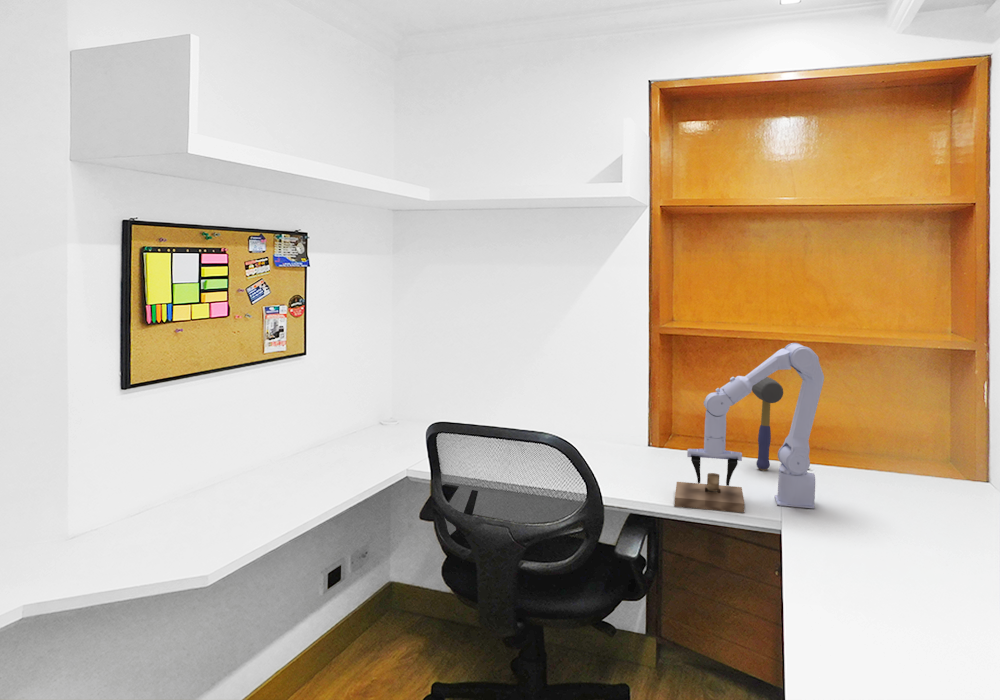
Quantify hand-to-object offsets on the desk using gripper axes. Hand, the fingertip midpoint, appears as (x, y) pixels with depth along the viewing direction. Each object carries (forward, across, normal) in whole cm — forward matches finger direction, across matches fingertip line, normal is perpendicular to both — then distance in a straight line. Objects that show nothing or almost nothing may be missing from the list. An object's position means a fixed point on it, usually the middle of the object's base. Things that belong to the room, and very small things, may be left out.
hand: (713, 483), depth 202 cm
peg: (+4, 0, 0) cm, 5 cm away
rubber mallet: (+5, -16, -35) cm, 39 cm away
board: (+4, +1, +2) cm, 5 cm away
